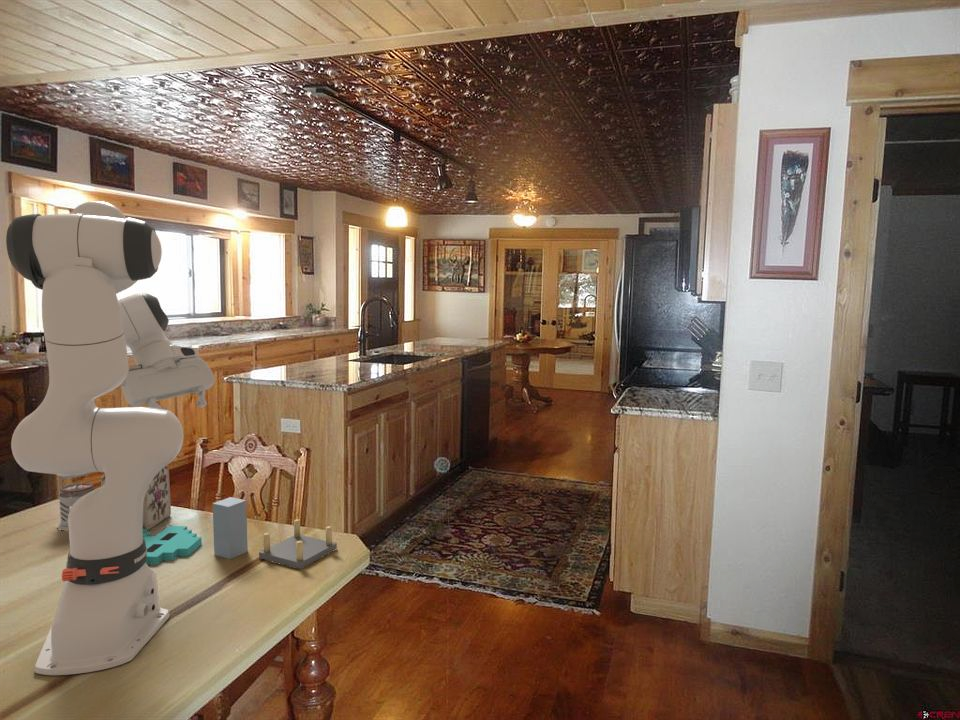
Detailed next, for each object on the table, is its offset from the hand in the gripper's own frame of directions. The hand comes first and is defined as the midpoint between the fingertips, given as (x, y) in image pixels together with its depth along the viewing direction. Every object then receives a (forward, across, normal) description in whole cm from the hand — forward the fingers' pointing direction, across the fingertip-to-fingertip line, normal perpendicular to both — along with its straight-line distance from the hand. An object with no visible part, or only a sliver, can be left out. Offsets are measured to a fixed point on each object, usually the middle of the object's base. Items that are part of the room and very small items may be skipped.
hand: (184, 411), depth 144 cm
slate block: (+33, -1, +9) cm, 34 cm away
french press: (+3, -12, +47) cm, 49 cm away
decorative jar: (+11, -3, +38) cm, 40 cm away
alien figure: (+23, -10, +22) cm, 33 cm away
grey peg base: (+42, +8, -1) cm, 42 cm away
